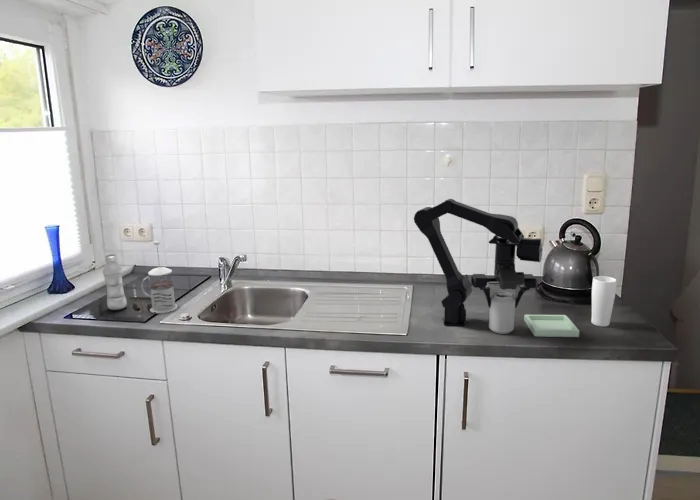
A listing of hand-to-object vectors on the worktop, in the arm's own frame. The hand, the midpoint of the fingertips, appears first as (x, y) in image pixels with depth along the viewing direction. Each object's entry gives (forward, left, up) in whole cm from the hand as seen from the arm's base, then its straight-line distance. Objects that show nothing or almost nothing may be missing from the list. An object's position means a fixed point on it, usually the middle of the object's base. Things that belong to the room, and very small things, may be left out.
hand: (502, 307), depth 160 cm
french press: (-117, +16, -8) cm, 118 cm away
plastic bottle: (-133, +15, -8) cm, 134 cm away
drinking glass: (+32, +6, -8) cm, 33 cm away
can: (0, 0, -8) cm, 8 cm away
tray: (+16, +2, -8) cm, 17 cm away
